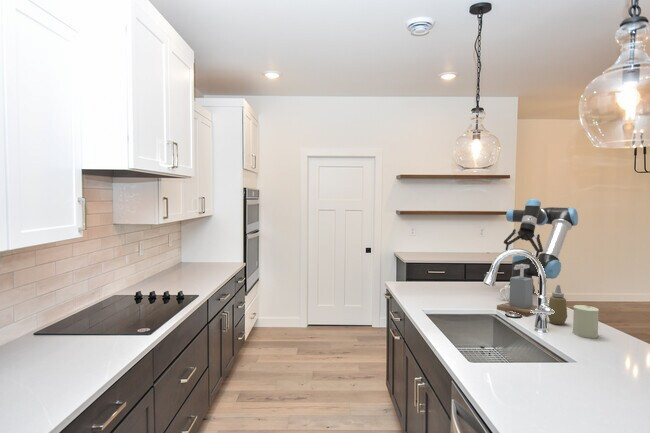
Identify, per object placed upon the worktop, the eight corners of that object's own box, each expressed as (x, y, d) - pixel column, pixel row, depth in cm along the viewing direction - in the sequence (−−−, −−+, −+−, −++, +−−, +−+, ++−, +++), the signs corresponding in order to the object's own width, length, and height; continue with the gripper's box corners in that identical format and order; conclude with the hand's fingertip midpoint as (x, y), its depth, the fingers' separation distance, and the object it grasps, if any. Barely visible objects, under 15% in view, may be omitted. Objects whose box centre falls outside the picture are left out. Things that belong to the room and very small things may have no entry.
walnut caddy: (515, 304, 213) (515, 300, 213) (544, 311, 200) (545, 307, 199) (496, 309, 202) (496, 305, 202) (527, 316, 189) (527, 312, 189)
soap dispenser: (517, 303, 206) (518, 276, 206) (532, 307, 200) (533, 278, 199) (509, 305, 202) (510, 277, 201) (524, 309, 195) (525, 280, 195)
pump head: (521, 281, 204) (521, 263, 204) (528, 282, 201) (529, 264, 200) (510, 283, 198) (511, 265, 198) (518, 285, 195) (518, 266, 194)
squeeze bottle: (555, 319, 185) (557, 283, 184) (571, 325, 177) (572, 286, 176) (543, 321, 182) (544, 283, 182) (558, 326, 175) (559, 287, 174)
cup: (519, 301, 218) (520, 287, 218) (503, 302, 217) (503, 288, 217) (512, 298, 225) (512, 285, 225) (496, 298, 224) (496, 285, 224)
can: (600, 334, 164) (601, 307, 164) (594, 339, 158) (595, 311, 158) (576, 329, 171) (577, 302, 171) (569, 333, 165) (570, 306, 165)
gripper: (505, 217, 222) (496, 251, 217) (553, 227, 211) (545, 263, 206) (504, 222, 228) (495, 255, 224) (551, 232, 218) (543, 266, 213)
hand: (519, 259), depth 215 cm, fingers open, 13 cm apart
